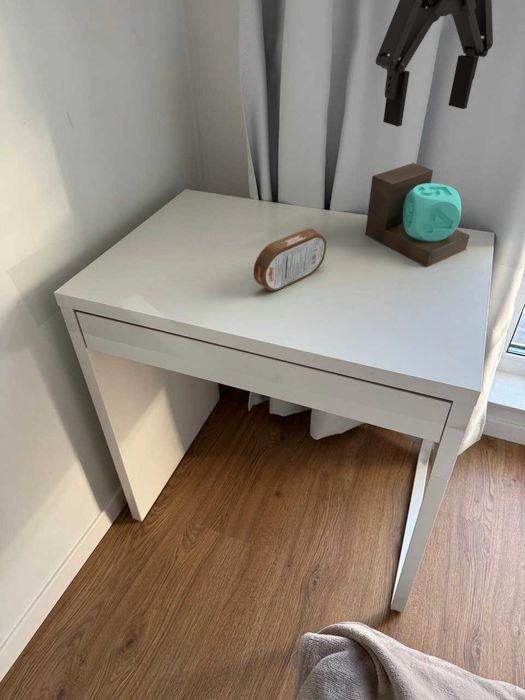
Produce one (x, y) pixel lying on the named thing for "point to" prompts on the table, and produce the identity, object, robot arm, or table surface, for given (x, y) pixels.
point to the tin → (289, 259)
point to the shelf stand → (389, 216)
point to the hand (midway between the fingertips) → (426, 115)
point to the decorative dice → (431, 212)
